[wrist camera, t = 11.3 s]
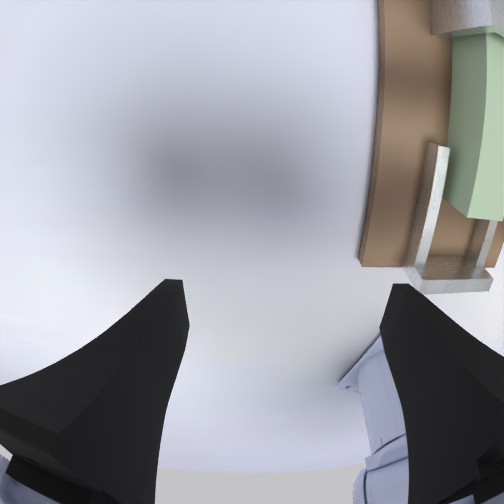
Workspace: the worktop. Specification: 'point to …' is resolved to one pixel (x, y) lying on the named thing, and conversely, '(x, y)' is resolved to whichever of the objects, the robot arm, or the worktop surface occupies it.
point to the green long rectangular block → (476, 127)
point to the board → (411, 138)
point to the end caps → (435, 168)
